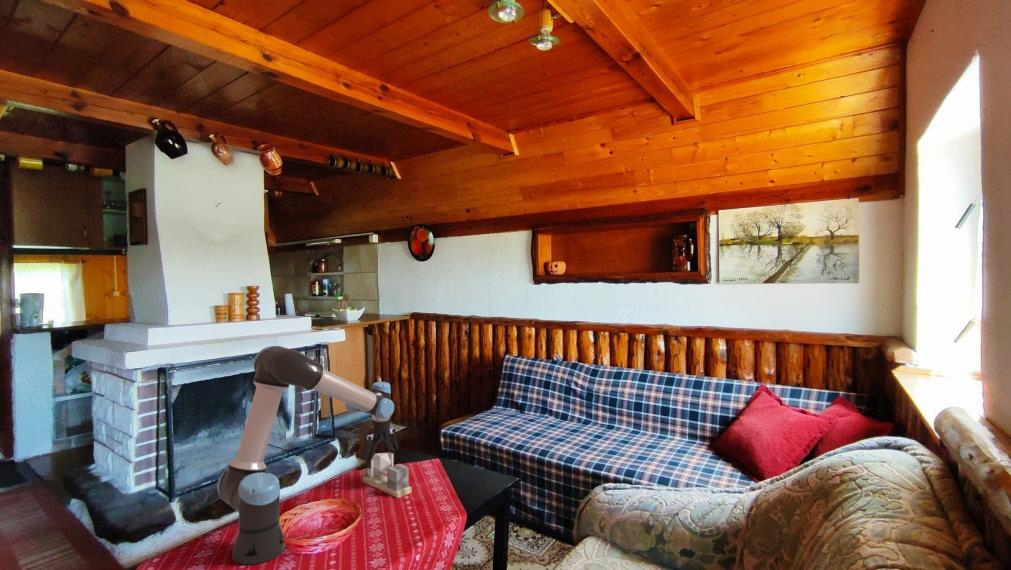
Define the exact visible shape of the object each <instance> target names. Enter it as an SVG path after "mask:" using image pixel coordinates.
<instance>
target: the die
mask: <svg viewBox="0 0 1011 570" xmlns="http://www.w3.org/2000/svg"><path fill="white" fill-rule="evenodd" d="M372 460H373V474H374V475H381V474H382V475H387V469H388V468H389V467H390V465H391V461H390V459H389V456H388V452H379V453H376V452H375V453H374V455H373V457H372Z"/></svg>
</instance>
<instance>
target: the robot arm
mask: <svg viewBox="0 0 1011 570" xmlns="http://www.w3.org/2000/svg"><path fill="white" fill-rule="evenodd" d="M252 365H253V366H252V367H253V370H254V372H255V375H254V378H253V384H254V385H255V392H254V396H253V399H252V402H251V406H250V408H249V412H248V415H247V419H246V423H245V426H244V429H243V432H242V437H241V440H240V444H239V447H238V451H237V453H236V457H235V458H234V459H233V460H231V461H230V462H229V463H228V466H227V468H226V470H225V471H223V472H222V473H221V474H220V476H219V479H218V481H217V484H216V485H217V487H216V489H217V493H218V496H219V497H220V499H221V500H222V501H223V502H224V503H225V504H227V505H228V506H229V507H231V508H232V509H234V510H235V511H236V512H238V533H237V535H236V539H235V541H234V544H233V547H232V554H231V555H232V560H233V561H234V562H235V563H237V564H240V565H245V566H246V565H257V564H262V563H265V562H268V561H270V560H273V559H275V558H276V557H279V555H280V554H282V553H283V552H284V550H285V547H286V543H285V544H284V541H283V540H282V539H283V538H284V537H285V535H284V532H283V528H282V526H281V524H280V505H281V504H280V503H281V502H280V496H281V495H280V493H281V486H280V480H279V478H278V477H277V476H276V475H275V474H273V473H270V472H267V473H266V469H267V465H266V463H265V462H264V459H265V455H266V452H267V449H268V447H269V446H268V444H269V443H270V437H271V435H272V431H273V428H274V424H275V421H276V417H277V412H278V411H279V406H280V402H281V399H282V395H283V393H284V391H286V390H288V389H289V388H290V386H294V387H297V388H301V389H304V390H306V391H312V390H314V391H317V392H319V393H320V394H324V395H326V396H328V397H330V398H333V399H335V400H337V401H340V402H342V403H344V406H345V409H346V411H348V413H358V412H362V413H365V414H368V415H370V416H371V419H372V420H371V429H372V432H371V434H366V435H365V443H364V447H363V453H362V457H361V459H362V460H364V461H365V462H366V463H365V464H366V465H365V467H366V468H368V475H369V476H373V460H372V458H373V456H374V454H375V453H376V450H377V447H378V446H379V445H380V443H382V442H384V443H385V445H386V447H387V449H388V452H387V453H388V456H389V459H390V461H391V465H390V467H392V466H394V460H395V455H396V453H397V451H398V450H399V444H398V439H397V436H396V431H397V430H396V428H393V427H391V419H390V418H391V416H392V415H393V413H394V411H395V404H394V401H393V400H392V399H391V393H392V392H391V390H392V389H391V384H390V383H389V382H386V381H376V382H374V383H372V384H371V385H372V387H371V388H370V389H366V388H365V387H362V386H361V385H358V384H356V383H353V382H352V381H349V380H347V379H345V378H344V377H341V376H339V375H337V374H335V373H333V372H331V371H329V370H326V369H325V368H324V365H323V364H321V363H319V362H317V361H315V360H313V359H312V358H310V357H309V356H307V355H305V354H304V353H302V352H300V351H298V350H296V349H292V348H287V347H284V346H281V345H270V346H266V347H263V348H262V349H261V350H259V351H258V352H257V354H256V355H255V357H254V358H253V363H252Z"/></svg>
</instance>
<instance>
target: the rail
mask: <svg viewBox="0 0 1011 570" xmlns="http://www.w3.org/2000/svg"><path fill="white" fill-rule="evenodd" d="M361 471H362V483H365V484H368V486H369V485H370V486H371V487H373V488H375V489H378V490H380V491H382V492H384V493H386V494H388V495H391V496H392V497H394V498H397V499H400V498H402V497H404V496H406V495H409V494H411V493H412V491H413V489H412V488H413V487H412V486H409V473H410V471H409V466H406V465H404V464H402V463H398V464H395V465H394V464H393V466H392V467H389V468H388V469H387V474H381V475H374V474H373V476H369V475H368V468H367V467H366V468H363V469H362V470H361Z"/></svg>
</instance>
